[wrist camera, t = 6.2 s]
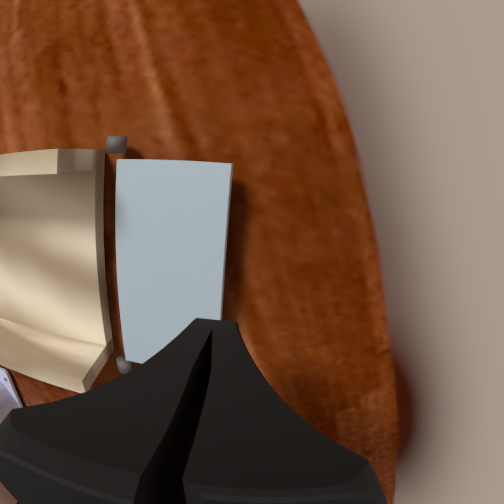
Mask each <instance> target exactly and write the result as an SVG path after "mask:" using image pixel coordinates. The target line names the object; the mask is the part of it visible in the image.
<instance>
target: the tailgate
mask: <svg viewBox="0 0 504 504" xmlns="http://www.w3.org/2000/svg"><path fill="white" fill-rule="evenodd" d="M232 174H233V164H230V163H216V162H200V161H180V160H150V159H117V170H116V200H115V234H116V265H117V282H118V296H119V307H120V318H121V327H122V336H123V344H124V351H125V358H126V360H127V361H132V362H136V363H141V364H143V363H144V362H145V361H147V360H148V359H149V358H151V357H152V356H153V355H155V354H156V353H157V352H159V351H160V350H161V349H163V348H164V347H165V346H166V345H167V344H168V343H170V342H171V341H172V340H173V339H174V338H175V337H176V336H177V335H178V334H180V333H181V332H182V331H183V330H184V329H185V328H186V327H187V326H188V325H189V324H190V323H191V322H192V321H193V320H194V319H196V318H203V319H213V320H222V309H223V293H224V278H225V263H226V249H227V236H228V222H229V210H230V197H231V186H232Z"/></svg>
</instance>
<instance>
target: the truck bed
mask: <svg viewBox="0 0 504 504" xmlns="http://www.w3.org/2000/svg"><path fill="white" fill-rule="evenodd" d="M126 143H127V137H126V136H108V137H107V144H106V153H126ZM104 165H105V150H99V149H49V150H37V151H27V152H17V153H9V154H1V155H0V365H2V366H4V367H7V368H9V369H12V370H14V371H17V372H19V373H22V374H24V375H27V376H30V377H32V378H35V379H38V380H41V381H44V382H47V383H49V384H52V385H56V386H59V387H62V388H65V389H68V390H72V391H75V392H78V393H84V392H87V391H88V390H89V389H90V387H91V386H92V384H93V382H94V381H95V379H96V378H97V376H98V375H99V373H100V371H101V370H102V368H103V367H104V365H105V364H106V362H107V360H108V359H109V357H110V356H111V354H112V353H113V351H114V345H113V339H112V331H111V324H110V315H109V306H108V296H107V285H106V272H105V255H104V223H103V197H104ZM116 361H117V367H118V371H119V373H121V374H123V375H124V374H126V373H128V372H130V371H131V370H133V369H134V367H133V362H132V361H127V360H126V358H125V355H120V356H118V357H117V359H116Z"/></svg>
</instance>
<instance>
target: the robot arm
mask: <svg viewBox="0 0 504 504" xmlns="http://www.w3.org/2000/svg"><path fill="white" fill-rule="evenodd" d="M0 482H1V483H2V484H3V485H4V486H5V488H6V489H7V490H8V491H9V492H10V493H11V494H12V495H13V497H14V498H15V499H16V500H17V501H18V502H17V504H387V502H386V499H385V496H384V493H383V490H382V487H381V485H380V482H379V480H378V478H377V476H376V474H375V472H374V470H373V469H372V467H371V465H370V463H369V461H368V460H367V459H365V458H363V457H361V456H359V455H358V454H356V453H354V452H352V451H350V450H348V449H346V448H345V447H343V446H341V445H339V444H337V443H336V442H334V441H332V440H331V439H329V438H328V437H326V436H325V435H323V434H322V433H320V432H319V431H318V430H316V429H315V428H313V427H312V426H311V425H310V424H308V423H307V422H306V421H305V420H304V419H302V418H301V417H300V416H299V415H298V414H297V413H296V412H294V411H293V410H292V409H291V408H290V407H289V406H288V405H287V404H286V403H285V402H284V401H283V400H282V399H281V398H280V396H279V395H278V394H277V393H276V392H275V391H274V390H273V388H272V387H271V386H270V385H269V383H268V382H267V381H266V379H265V378H264V376H263V375H262V373H261V372H260V371H259V369H258V368H257V366H256V364H255V363H254V361H253V359H252V357H251V355H250V354H249V352H248V350H247V348H246V346H245V344H244V341H243V339H242V337H241V334H240V331H239V325H238V324H237V323H236V322H235V321H224V320H213V319H203V318H196V319H194V320H193V321H192V322H191V323H190V324H189V325H188V326H187V327H186V328H185V329H184V330H183V331H182V332H181V333H180V334H178V335H177V336H176V337H175V338H174V339H173V340H172V341H171V342H170V343H168V344H167V345H166V346H165V347H164V348H163V349H161V350H160V351H159V352H157V353H156V354H155V355H153V356H152V357H151V358H149V359H148V360H147V361H145V362H144V363H143V364H141V365H140V366H138V367H136V368H135V369H133V370H131V371H130V372H128V373H126V374H124V375H123V376H121V377H119V378H117V379H115V380H112V381H110V382H108V383H106V384H103V385H101V386H99V387H97V388H94V389H92V390H90V391H87V392H84V393H81V394H78V395H75V396H72V397H69V398H65V399H62V400H58V401H54V402H50V403H45V404H40V405H34V406H28V407H23V405H22V403H21V401H20V398H19V396H18V394H17V391H16V389H15V387H14V384H13V382H12V379H11V377H10V374H9V372H8V371H7V370H5V369H3V368H1V367H0Z"/></svg>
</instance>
